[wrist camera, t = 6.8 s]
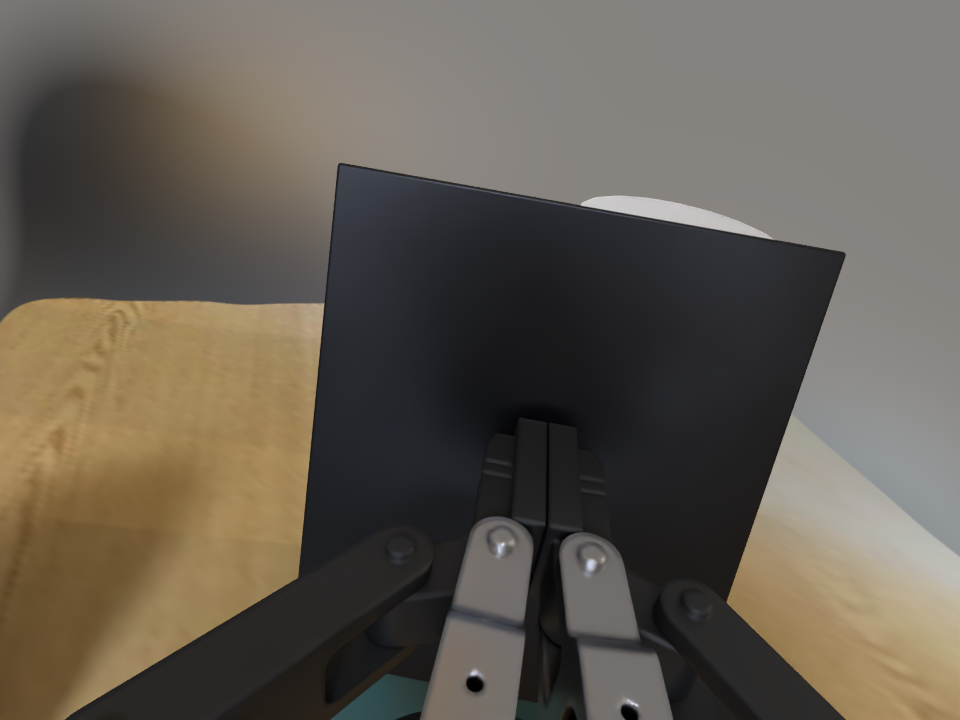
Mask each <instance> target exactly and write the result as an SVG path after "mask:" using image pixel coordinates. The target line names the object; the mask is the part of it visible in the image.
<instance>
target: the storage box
mask: <svg viewBox="0 0 960 720" xmlns="http://www.w3.org/2000/svg"><path fill="white" fill-rule="evenodd" d="M429 683H430V682H425V681H420V680H414V679H409V678H404V677H399V676H394V675H389V674H386V675H385V676H383V677H382V678H381V679H380V680H378V681H377V682H376V683H375V684H374V685H372V686H371V687H370V688H369V689H367V690H366V691H365V692H364V693H362V694H361V695H360V696H359V697H358V698H356V699H355V700H354V701H353V702H351V703H350V704H349V705H348V706H346V707H345V708H344V709H343V710H342V711H340V712H339V713H338V714H337V715H335V716H334V717H333V718H332V719H331V720H395V719H398V718H400V717H403V716H405V715H408V714H412V713H416V712H420V711H422V710H423V706H424V702H425V698H426V694H427V690H428V687H429ZM515 716H516V717H518V718H520V719H522V720H538V703H533V702H528V701H522V700H517V707H516V715H515Z"/></svg>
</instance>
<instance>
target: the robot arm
mask: <svg viewBox="0 0 960 720" xmlns="http://www.w3.org/2000/svg"><path fill="white" fill-rule="evenodd" d="M604 483H605V478H604V469H603V465H602V463H601V461H600V460H599V458H598V457H597V455H596V454H595V452H594V451H593V450H588V449H582V448H578V440H577V429H576V427H571V426H565V425H560V424H554V423H549V422H548V424H547V423H546V422H543V421H537V420H532V419H526V418H521V417H519V418H518V422H517V426H516V430H515V435H514V436H511V435H505V434H500V433H496V434H495V435H494V436H493V437H492V438H491V439H490V440H489V442H488V443H487V444H486V447H485V453H484V458H483V463H482V468H481V473H480V478H479V483H478V489H477V495H476V502H475V508H474V514H473V521H472V525H471V526H470V528H469V529H468V530H467V531H465V532H464V533H463V534H461V535H459V536H457V537H454V538H451V539H445V540H435V541H431V540H430V538H429V537H428V536H427V534H426V533H424V532H423V531H422V530H420V529H418V528H416V527H414V526H411V525H406V524H393V525H388V526H385V527H383V528H381V529H379V530H377V531H376V532H374V533H372V534H371V535H369V536H367V537H366V538H364V539H362V540H361V541H359V542H357V543H356V544H354V545H352V546H351V547H349V548H347V549H346V550H344V551H342V552H341V553H339V554H337V555H336V556H334V557H332V558H331V559H329V560H327V561H326V562H324V563H322V564H321V565H319V566H317V567H316V568H314V569H312V570H311V571H309V572H307V573H306V574H304V575H302V576H301V577H299V578H297V579H296V580H294V581H292V582H291V583H289V584H287V585H286V586H284V587H282V588H281V589H279V590H277V591H276V592H274V593H272V594H271V595H269V596H267V597H266V598H264V599H262V600H261V601H259V602H257V603H256V604H254V605H252V606H251V607H249V608H247V609H246V610H244V611H242V612H241V613H239V614H237V615H236V616H234V617H232V618H231V619H229V620H227V621H226V622H224V623H222V624H221V625H219V626H217V627H216V628H214V629H212V630H211V631H209V632H207V633H206V634H204V635H202V636H201V637H199V638H197V639H196V640H194V641H192V642H191V643H189V644H187V645H186V646H184V647H182V648H181V649H179V650H177V651H176V652H174V653H172V654H171V655H169V656H167V657H166V658H164V659H162V660H161V661H159V662H157V663H156V664H154V665H152V666H151V667H149V668H147V669H146V670H144V671H142V672H141V673H139V674H137V675H136V676H134V677H132V678H131V679H129V680H127V681H126V682H124V683H122V684H121V685H119V686H117V687H116V688H114V689H112V690H111V691H109V692H107V693H106V694H104V695H102V696H101V697H99V698H97V699H96V700H94V701H92V702H91V703H89V704H87V705H86V706H84V707H82V708H81V709H79V710H77V711H76V712H74V713H73V714H71V715H70V716H69V717H67V718H66V719H65V720H331V719H332V718H333V717H334V716H335V715H337V714H338V713H339V712H340V711H342V710H343V709H344V708H345V707H346V706H348V705H349V704H350V703H351V702H353V701H354V700H355V699H356V698H358V697H359V696H360V695H361V694H362V693H364V692H365V691H366V690H367V689H369V688H370V687H371V686H372V685H374V684H375V683H376V682H377V681H378V680H380V679H381V678H382V677H383V676H385V675H386V674H387V673H388V672H389V671H391V670H392V669H393V668H394V667H396V666H397V665H398V664H399V663H401V662H402V661H403V660H404V659H405V658H407V657H408V656H409V655H410V654H411V653H413V652H414V651H415V649H416V648H417V647H418V645H419V644H426V643H433V642H440V645H439V649H438V652H437V656H436V660H435V664H434V668H433V671H432V675H431V679H430V683H429V687H428V690H427V694H426V698H425V702H424V706H423V710H422V711H420V712H416V713H412V714H408V715H405V716H403V717H400V718H398V719H395V720H522V719H520V718H518V717H516V716H515V715H516V707H517V699H518V691H519V683H520V675H521V667H522V659H523V652H524V644H525V633H526V629H525V627H524V617H525V609H526V602H527V594H528V597H534V598H539V614H538V617H537V621H536V624H535V629H534V634H535V654H536V673H537V692H538V720H846V719H845V718H844V717H843V716H841V715H840V714H839V713H838V712H837V711H836V710H835V709H834V708H833V707H832V706H831V705H830V704H829V703H828V702H827V701H826V700H825V699H824V698H823V697H822V696H821V695H820V694H819V693H818V692H817V691H816V690H815V689H814V688H813V687H812V686H811V685H810V684H809V683H808V682H807V681H806V680H805V679H804V678H803V677H802V676H801V675H800V674H799V673H798V672H796V671H795V670H794V669H793V668H792V667H791V666H790V665H789V664H788V663H787V662H786V661H785V660H784V659H783V658H782V657H781V656H780V655H779V654H778V653H777V652H776V651H775V650H774V649H773V648H772V647H771V646H770V645H769V644H768V643H767V642H766V641H765V640H764V639H763V638H762V637H761V636H760V635H759V634H758V633H757V632H756V631H755V630H754V629H752V628H751V627H750V626H749V625H748V624H747V623H746V622H745V621H744V620H743V619H742V618H741V617H740V616H739V615H738V614H737V613H736V612H735V611H734V610H733V609H732V608H731V607H730V606H729V605H728V604H727V603H726V602H725V601H724V600H723V599H722V598H721V597H720V596H719V595H718V594H717V593H716V592H714V591H713V590H712V589H711V588H709V587H708V586H707V585H705V584H703V583H701V582H699V581H696V580H694V579H690V578H684V577H682V578H673V579H671V580H669V581H667V582H666V583H665V584H664V585H663V586H662V585H659V584H657V583H655V582H653V581H651V580H649V579H647V578H644V577H642V576H640V575H639V574H637V573H635V572H634V571H632V570H631V569H629V568H628V567H627V566H626V565H625V564H624V563H623V560H622V557H621V555H620V553H619V551H618V550H617V549H616V548H615V547H614V546H613V545H612V539H611V530H610V521H609V513H608V504H607V496H606V486H605V484H604Z"/></svg>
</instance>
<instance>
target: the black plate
mask: <svg viewBox="0 0 960 720" xmlns="http://www.w3.org/2000/svg"><path fill="white" fill-rule="evenodd" d="M845 256H846V254H845V253H844V252H840V251H835V250H829V249H824V248H818V247H812V246H807V245H801V244H795V243H790V242H784V241H778V240H773V239H767V238H762V237H756V236H750V235H745V234H739V233H733V232H728V231H722V230H716V229H711V228H705V227H700V226H694V225H688V224H683V223H677V222H671V221H666V220H660V219H654V218H649V217H643V216H638V215H632V214H626V213H621V212H615V211H609V210H604V209H598V208H592V207H587V206H581V205H575V204H570V203H564V202H558V201H553V200H547V199H541V198H536V197H530V196H524V195H519V194H513V193H508V192H501V191H497V190H491V189H485V188H480V187H473V186H468V185H463V184H457V183H451V182H446V181H440V180H435V179H428V178H423V177H417V176H412V175H406V174H401V173H395V172H389V171H384V170H378V169H372V168H367V167H361V166H356V165H350V164H344V163H339V164H338V169H337V180H336V191H335V201H334V211H333V222H332V231H331V242H330V253H329V263H328V273H327V284H326V294H325V305H324V315H323V325H322V336H321V346H320V357H319V367H318V378H317V388H316V398H315V409H314V419H313V430H312V440H311V451H310V461H309V471H308V482H307V492H306V503H305V513H304V524H303V534H302V545H301V555H300V565H299V576H298V578H299V577H301V576H302V575H304V574H306V573H307V572H309V571H311V570H312V569H314V568H316V567H317V566H319V565H321V564H322V563H324V562H326V561H327V560H329V559H331V558H332V557H334V556H336V555H337V554H339V553H341V552H342V551H344V550H346V549H347V548H349V547H351V546H352V545H354V544H356V543H357V542H359V541H361V540H362V539H364V538H366V537H367V536H369V535H371V534H372V533H374V532H376V531H377V530H379V529H381V528H383V527H385V526H388V525H393V524H406V525H411V526H414V527H416V528H418V529H420V530H422V531H423V532H424V533H426V534H427V536H428V537H429V538H430V540H431V541H435V540H445V539H451V538H454V537H457V536H459V535H461V534H463V533H464V532H465V531H467V530H468V529H469V528H470V526H471V525H472V521H473V514H474V508H475V502H476V495H477V489H478V483H479V478H480V473H481V468H482V463H483V458H484V453H485V447H486V444H487V443H488V442H489V440H490V439H491V438H492V437H493V436H494V435H495V434H496V433H500V434H505V435H511V436H514V435H515V430H516V426H517V422H518V418H519V417H521V418H526V419H532V420H537V421H543V422H546V423H547V424H548V422H549V423H554V424H560V425H565V426H571V427H576V429H577V440H578V448H582V449H588V450H593V451H594V452H595V454H596V455H597V457H598V458H599V460H600V461H601V463H602V465H603V469H604V478H605V483H604V484H605V486H606V496H607V504H608V513H609V521H610V530H611V539H612V545H613V546H614V547H615V548H616V549H617V550H618V551H619V553H620V555H621V557H622V560H623V563H624V564H625V565H626V566H627V567H628V568H629V569H631V570H632V571H634V572H635V573H637V574H639V575H640V576H642V577H644V578H647V579H649V580H651V581H653V582H655V583H657V584H659V585H662V586H663V585H664V584H665V583H666V582H667V581H669V580H671V579H673V578H682V577H684V578H690V579H694V580H696V581H699V582H701V583H703V584H705V585H707V586H708V587H709V588H711V589H712V590H713V591H714V592H716V593H717V594H718V595H719V596H720V597H721V598H722V599H723V600H724V601H725V602H726V601H727V599H728V596H729V593H730V590H731V587H732V584H733V581H734V578H735V575H736V572H737V570H738V567H739V564H740V561H741V558H742V555H743V552H744V549H745V546H746V543H747V541H748V538H749V535H750V532H751V529H752V526H753V523H754V520H755V517H756V514H757V512H758V509H759V506H760V503H761V500H762V497H763V494H764V491H765V488H766V485H767V483H768V480H769V477H770V474H771V471H772V468H773V465H774V462H775V459H776V456H777V454H778V451H779V448H780V445H781V442H782V439H783V436H784V433H785V430H786V427H787V425H788V422H789V419H790V416H791V413H792V410H793V407H794V404H795V401H796V398H797V395H798V392H799V389H800V387H801V383H802V381H803V378H804V375H805V372H806V369H807V366H808V363H809V361H810V358H811V355H812V352H813V349H814V346H815V343H816V340H817V337H818V335H819V332H820V329H821V326H822V323H823V320H824V317H825V314H826V311H827V308H828V306H829V303H830V300H831V297H832V294H833V291H834V288H835V285H836V282H837V279H838V277H839V274H840V271H841V268H842V265H843V262H844V259H845ZM538 614H539V598H534V597H528V594H527V602H526V609H525V617H524V627H525V629H526V633H525V644H524V652H523V659H522V667H521V675H520V683H519V691H518V699H517V700H522V701H528V702H533V703H538V692H537V673H536V654H535V634H534V629H535V624H536V621H537V617H538ZM439 645H440V642H433V643H426V644H419V645H418V647H417V648H416V649H415V651H414V652H413V653H411V654H410V655H409V656H408V657H407V658H405V659H404V660H403V661H402V662H401V663H399V664H398V665H397V666H396V667H394V668H393V669H392V670H391V671H389V672H388V673H387V674H389V675H394V676H399V677H404V678H409V679H414V680H420V681H425V682H430V679H431V675H432V671H433V668H434V664H435V660H436V656H437V652H438V649H439Z"/></svg>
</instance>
